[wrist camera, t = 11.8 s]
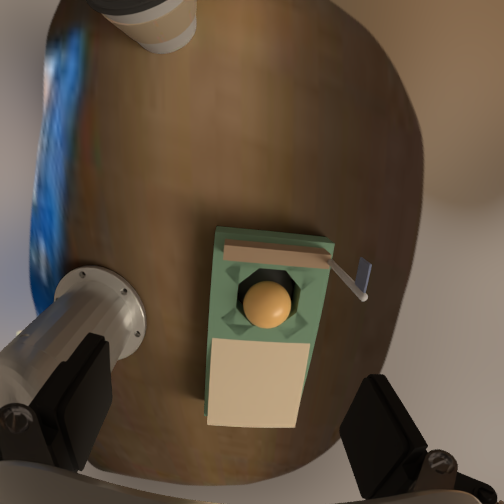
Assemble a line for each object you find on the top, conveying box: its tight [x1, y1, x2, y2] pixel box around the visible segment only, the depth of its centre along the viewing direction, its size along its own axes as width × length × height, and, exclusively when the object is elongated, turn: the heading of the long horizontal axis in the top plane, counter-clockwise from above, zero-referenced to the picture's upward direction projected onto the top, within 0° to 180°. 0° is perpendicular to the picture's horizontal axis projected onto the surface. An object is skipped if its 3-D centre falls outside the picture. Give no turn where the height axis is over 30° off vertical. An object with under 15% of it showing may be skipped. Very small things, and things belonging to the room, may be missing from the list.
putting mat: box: [204, 226, 372, 428], centre depth 30 cm, size 25×12×14 cm, turn 174°
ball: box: [243, 281, 291, 329], centre depth 33 cm, size 5×5×5 cm
